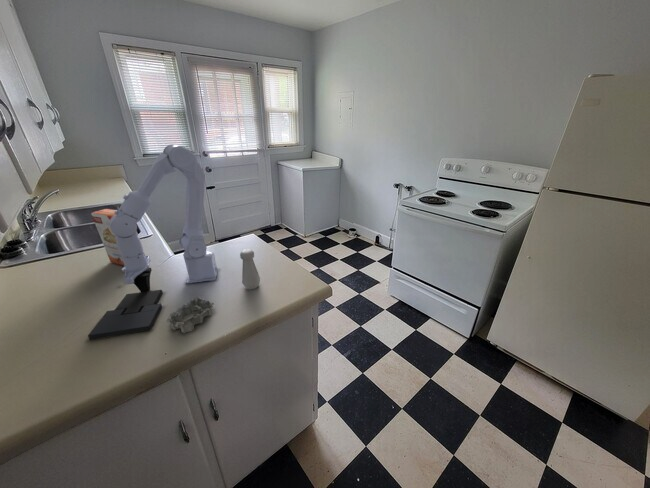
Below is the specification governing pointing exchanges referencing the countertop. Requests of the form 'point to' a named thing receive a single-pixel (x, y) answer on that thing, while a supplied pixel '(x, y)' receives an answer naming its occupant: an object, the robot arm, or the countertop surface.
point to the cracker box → (107, 234)
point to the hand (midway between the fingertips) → (145, 291)
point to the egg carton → (190, 314)
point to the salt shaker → (249, 270)
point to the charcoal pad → (125, 322)
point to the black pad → (139, 301)
